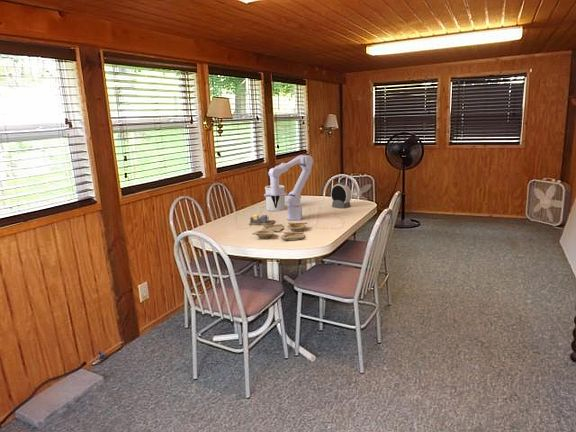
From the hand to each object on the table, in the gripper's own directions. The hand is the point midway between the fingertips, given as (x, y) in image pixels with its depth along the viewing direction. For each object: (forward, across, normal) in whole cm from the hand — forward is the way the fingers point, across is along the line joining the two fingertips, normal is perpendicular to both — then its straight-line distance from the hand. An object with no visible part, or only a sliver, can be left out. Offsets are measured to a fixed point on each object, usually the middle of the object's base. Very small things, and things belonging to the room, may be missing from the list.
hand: (275, 207), depth 275 cm
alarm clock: (+9, -50, -37) cm, 63 cm away
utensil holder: (+10, -1, -41) cm, 42 cm away
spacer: (+9, +13, 0) cm, 16 cm away
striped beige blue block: (+9, +9, +2) cm, 12 cm away
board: (+10, +9, +1) cm, 14 cm away
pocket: (+10, +13, 0) cm, 16 cm away
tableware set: (+11, -2, +29) cm, 31 cm away
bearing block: (+10, +8, +2) cm, 13 cm away
